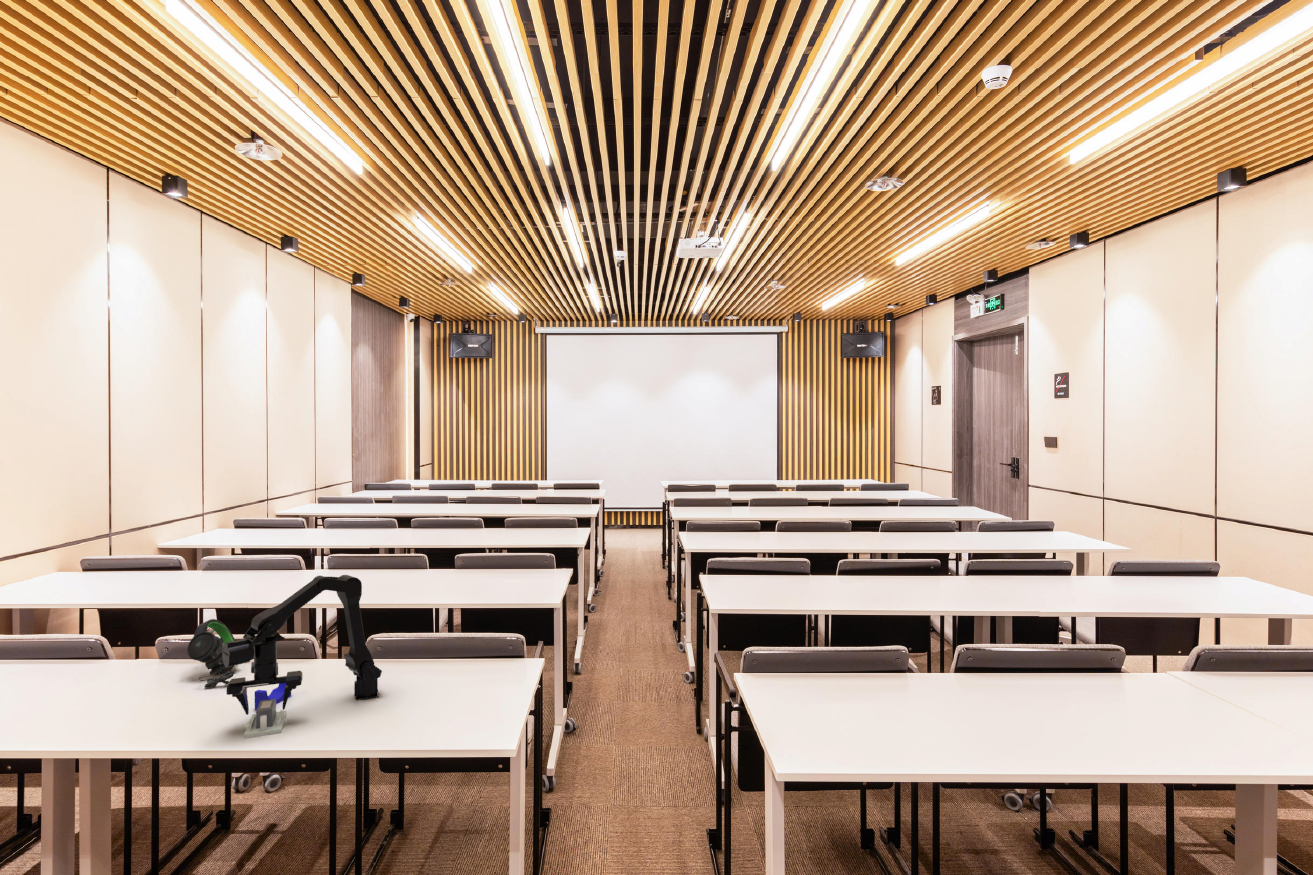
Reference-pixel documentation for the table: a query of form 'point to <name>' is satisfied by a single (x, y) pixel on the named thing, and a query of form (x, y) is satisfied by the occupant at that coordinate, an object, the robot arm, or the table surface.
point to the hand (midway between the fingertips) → (265, 711)
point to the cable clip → (275, 694)
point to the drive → (266, 712)
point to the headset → (211, 650)
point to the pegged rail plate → (265, 725)
